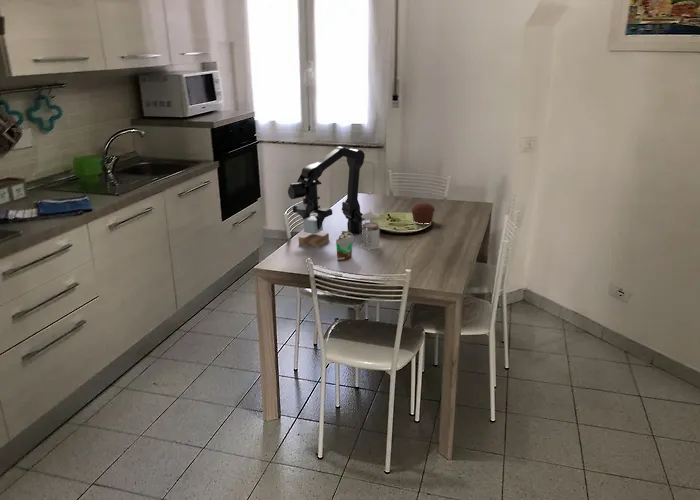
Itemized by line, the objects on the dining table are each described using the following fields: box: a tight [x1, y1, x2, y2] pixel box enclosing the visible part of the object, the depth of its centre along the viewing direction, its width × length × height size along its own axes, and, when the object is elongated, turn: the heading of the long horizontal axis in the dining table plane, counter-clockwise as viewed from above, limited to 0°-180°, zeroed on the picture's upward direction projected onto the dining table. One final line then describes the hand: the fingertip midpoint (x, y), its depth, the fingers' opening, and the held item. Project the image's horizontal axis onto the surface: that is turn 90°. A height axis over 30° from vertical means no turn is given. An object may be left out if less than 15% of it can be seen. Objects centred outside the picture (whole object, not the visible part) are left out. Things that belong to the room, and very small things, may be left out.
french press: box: [359, 191, 383, 250], centre depth 256 cm, size 10×12×25 cm
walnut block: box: [298, 231, 330, 248], centre depth 265 cm, size 10×10×4 cm
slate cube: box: [302, 215, 324, 234], centre depth 262 cm, size 6×6×6 cm
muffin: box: [410, 201, 436, 224], centre depth 287 cm, size 12×11×10 cm
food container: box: [335, 230, 355, 262], centre depth 245 cm, size 12×6×10 cm, turn 168°
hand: (313, 228), depth 263 cm, fingers closed on slate cube, 6 cm apart
